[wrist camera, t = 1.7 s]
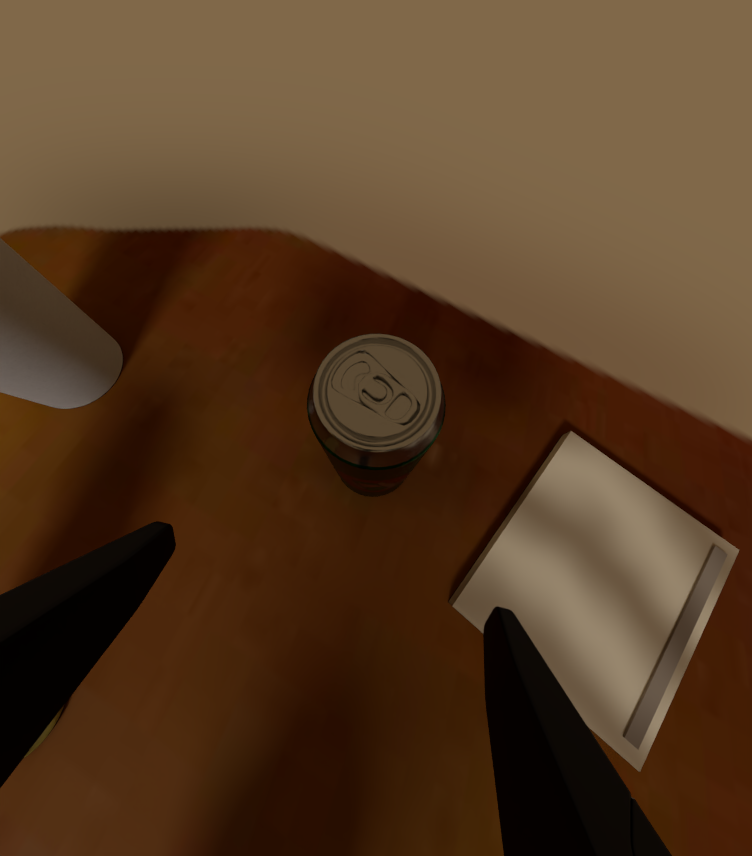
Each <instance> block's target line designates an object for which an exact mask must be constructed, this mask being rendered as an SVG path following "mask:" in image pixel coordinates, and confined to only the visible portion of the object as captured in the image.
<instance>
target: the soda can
mask: <svg viewBox="0 0 752 856" xmlns="http://www.w3.org/2000/svg"><path fill="white" fill-rule="evenodd" d="M445 406H446V404H445V395H444V391H443V388H442V384H441V382H440V380H439V376H438V373H437V371H436V369H435V367H434V365H433V364H432V362H431V361H430V359H429V358H428V357H427V356H426V355H425V354H424V352H423V351H421V350H420V349H419V348H418V347H416V346H415V345H413V344H412V343H410V342H408V341H406V340H404V339H402V338H399V337H396V336H392V335H386V334H367V335H361V336H357V337H354V338H351V339H349V340H347V341H345V342H343V343H341V344H340V345H338V346H337V347H335V348H334V349H333V350H332V351H331V352H330V353H329V354H328V355H327V356H326V357H325V359H324V360H323V361H322V363H321V365H320V366H319V368H318V370H317V373H316V374H315V376H314V378H313V380H312V383H311V385H310V388H309V393H308V398H307V411H308V418H309V422H310V425H311V428H312V430H313V432H314V434H315V436H316V438H317V440H318V441H319V443H320V445H321V446H322V448H323V450H324V451H325V453H326V455H327V456H328V458H329V460H330V461H331V463H332V465H333V466H334V468H335V470H336V471H337V473H338V475H339V476H340V478H341V480H342V481H343V482H344V484H345V485H346V486H347V487H348V488H349V489H351V490H352V491H354V492H356V493H358V494H360V495H364V496H369V497H378V496H383V495H386V494H388V493H390V492H392V491H394V490H395V489H397V488H398V487H399V486H400V485H401V484H402V483H403V481H404V480H405V479H406V478H407V476H408V475H409V474H410V472H411V471H412V470H413V469H414V467H415V466H416V465H417V463H418V462H419V461H420V459H421V458H422V457H423V456H424V454H425V453H426V452H427V450H428V449H429V448H430V447H431V445H432V444H433V442H434V441H435V439H436V438H437V436H438V435H439V432H440V430H441V427H442V425H443V421H444V417H445Z"/></svg>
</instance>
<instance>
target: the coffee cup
mask: <svg viewBox="0 0 752 856" xmlns="http://www.w3.org/2000/svg"><path fill="white" fill-rule="evenodd" d="M122 363H123V356H122V351H121V348H120V346H119V344H118V343H117V342H116V341H115V340H114V339H113V338H112V337H111V336H110V335H109V334H108V333H107V332H106V331H104V330H103V329H102V328H101V327H100V326H99V325H98V324H97V323H95V322H94V321H93V320H92V319H91V318H90V317H89V316H87V315H86V314H85V313H84V312H83V311H82V310H81V309H80V308H78V307H77V306H76V305H75V304H74V303H73V302H72V301H70V300H69V299H68V298H67V297H66V296H65V295H64V294H63V293H61V292H60V291H59V290H58V289H57V288H56V287H55V286H54V285H52V284H51V283H50V282H49V281H48V280H47V279H46V278H44V277H43V276H42V275H41V274H40V273H39V272H38V271H37V270H35V269H34V268H33V267H32V266H31V265H30V264H29V263H28V262H26V261H25V260H24V259H23V258H22V257H21V256H20V255H19V254H17V253H16V252H15V251H14V250H13V249H12V248H11V247H10V246H8V245H7V244H6V243H5V242H4V241H3V240H2V239H1V238H0V392H2V393H5V394H9V395H12V396H16V397H19V398H23V399H26V400H30V401H33V402H37V403H40V404H44V405H47V406H51V407H55V408H62V409H68V408H76V407H80V406H83V405H86V404H89V403H91V402H93V401H95V400H96V399H98V398H99V397H101V396H102V395H103V394H105V393H106V392H107V391H108V390H109V389H110V388H111V387H112V386H113V384H114V383H115V382H116V380H117V378H118V376H119V374H120V372H121V369H122Z"/></svg>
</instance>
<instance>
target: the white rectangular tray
mask: <svg viewBox="0 0 752 856" xmlns="http://www.w3.org/2000/svg"><path fill="white" fill-rule="evenodd" d="M738 552H739V550H738V549H737V548H735V547H734V546H732V545H731V544H730V543H728V542H727V541H725V540H724V539H723V538H721V537H720V536H718V535H717V534H716V533H714V532H713V531H711V530H710V529H709V528H707V527H706V526H704V525H703V524H701V523H700V522H699V521H697V520H696V519H694V518H693V517H692V516H690V515H689V514H687V513H686V512H685V511H683V510H682V509H680V508H679V507H678V506H676V505H675V504H673V503H672V502H670V501H669V500H668V499H666V498H665V497H663V496H662V495H661V494H659V493H658V492H656V491H655V490H654V489H652V488H651V487H649V486H648V485H647V484H645V483H644V482H642V481H641V480H640V479H638V478H637V477H635V476H634V475H632V474H631V473H630V472H628V471H627V470H625V469H624V468H623V467H621V466H620V465H618V464H617V463H616V462H614V461H613V460H611V459H610V458H609V457H607V456H606V455H604V454H603V453H601V452H600V451H599V450H597V449H596V448H594V447H593V446H592V445H590V444H589V443H587V442H586V441H585V440H583V439H582V438H580V437H579V436H578V435H576V434H575V433H573V432H572V431H570V432H568V433H566V434H563V435H562V437H561V438H560V439H559V441H558V442H557V444H556V445H555V447H554V448H553V450H552V451H551V453H550V454H549V456H548V457H547V458H546V460H545V461H544V463H543V464H542V466H541V467H540V469H539V470H538V472H537V473H536V475H535V476H534V477H533V479H532V480H531V482H530V483H529V485H528V486H527V488H526V489H525V491H524V492H523V494H522V495H521V496H520V498H519V499H518V501H517V502H516V504H515V505H514V507H513V508H512V510H511V511H510V513H509V514H508V515H507V517H506V518H505V520H504V521H503V523H502V524H501V526H500V527H499V529H498V530H497V532H496V533H495V534H494V536H493V537H492V539H491V540H490V542H489V543H488V545H487V546H486V548H485V549H484V551H483V552H482V553H481V555H480V556H479V558H478V559H477V561H476V562H475V564H474V565H473V567H472V568H471V570H470V571H469V572H468V574H467V575H466V577H465V578H464V580H463V581H462V583H461V584H460V586H459V587H458V589H457V590H456V591H455V593H454V594H453V596H452V597H451V599H450V600H449V603H450V604H451V605H452V606H453V607H454V608H455V609H456V610H457V611H458V612H460V613H461V614H462V615H463V616H464V617H465V618H466V619H467V620H469V621H470V622H471V623H472V624H473V625H474V626H475V627H477V628H478V629H479V630H480V631H481V632H482V633H483V630H484V625H485V622H486V620H487V619H488V617H489V615H490V614H491V612H492V610H493V609H494V607H496V606H499V607H503V608H507V609H510V610H511V611H513V613H514V614H515V615H516V617H517V618H518V620H519V622H520V623H521V625H522V626H523V628H524V629H525V631H526V632H527V634H528V635H529V637H530V638H531V640H532V642H533V643H534V645H535V646H536V648H537V649H538V651H539V652H540V654H541V655H542V657H543V659H544V660H545V662H546V663H547V665H548V666H549V668H550V669H551V671H552V672H553V674H554V676H555V677H556V679H557V680H558V682H559V683H560V685H561V686H562V688H563V689H564V691H565V693H566V694H567V696H568V697H569V699H570V700H571V702H572V703H573V705H574V706H575V708H576V710H577V711H578V713H579V714H580V716H581V717H582V719H583V720H584V722H585V723H586V725H587V726H588V727H589V728H590V729H591V730H593V731H594V732H595V733H596V734H597V735H598V736H599V737H601V738H602V739H603V740H604V741H605V742H606V743H607V744H608V745H610V746H611V747H612V748H613V749H614V750H615V751H616V752H617V753H619V754H620V755H621V756H622V757H623V758H624V759H625V760H626V761H628V762H629V763H630V764H631V765H632V766H633V767H634V768H635V769H637V770H638V771H639V772H640V770H641V768H642V766H643V764H644V762H645V759H646V757H647V755H648V753H649V750H650V748H651V746H652V744H653V741H654V739H655V737H656V735H657V733H658V730H659V728H660V726H661V724H662V721H663V719H664V717H665V715H666V712H667V710H668V708H669V706H670V704H671V701H672V699H673V697H674V695H675V692H676V690H677V688H678V686H679V684H680V681H681V679H682V677H683V675H684V672H685V670H686V668H687V666H688V663H689V661H690V659H691V657H692V655H693V652H694V650H695V648H696V646H697V643H698V641H699V639H700V637H701V634H702V632H703V630H704V628H705V626H706V623H707V621H708V619H709V617H710V614H711V612H712V610H713V608H714V606H715V603H716V601H717V599H718V597H719V594H720V592H721V590H722V588H723V585H724V583H725V581H726V579H727V577H728V574H729V572H730V570H731V568H732V565H733V563H734V561H735V559H736V556H737V554H738Z"/></svg>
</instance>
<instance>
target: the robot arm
mask: <svg viewBox="0 0 752 856" xmlns="http://www.w3.org/2000/svg"><path fill="white" fill-rule="evenodd" d="M175 546H176V543H175V537H174V532H173V527H172V526H171V525H170V524H167V523H163V522H158V521H157V522H153V523H151V524H148V525H146V526H144V527H142V528H140V529H138V530H136V531H134V532H132V533H130V534H127V535H125V536H123V537H121V538H119V539H117V540H115V541H113V542H111V543H108V544H106V545H104V546H102V547H100V548H98V549H96V550H94V551H92V552H90V553H87V554H85V555H83V556H81V557H79V558H77V559H75V560H73V561H71V562H69V563H66V564H64V565H62V566H60V567H58V568H56V569H54V570H52V571H50V572H47V573H45V574H43V575H41V576H39V577H37V578H35V579H33V580H31V581H29V582H26V583H24V584H22V585H20V586H18V587H16V588H14V589H12V590H10V591H8V592H5V593H3V594H1V595H0V788H1V787H2V785H3V784H4V783H5V781H6V780H7V779H8V777H9V776H10V775H11V773H12V772H13V771H14V770H15V768H16V767H17V766H18V764H19V763H20V762H21V760H22V759H23V758H24V756H25V755H26V754H27V753H28V751H29V750H30V749H31V747H32V746H33V745H34V743H35V742H36V741H37V740H38V738H39V737H40V736H41V734H42V733H43V732H44V730H45V729H46V728H47V726H48V725H49V724H50V723H51V721H52V720H53V719H54V717H55V716H56V715H57V713H58V712H59V711H60V709H61V708H62V707H63V706H64V704H65V703H66V702H67V700H68V699H69V698H70V696H71V695H72V694H73V693H74V691H75V690H76V689H77V687H78V686H79V685H80V683H81V682H82V681H83V679H84V678H85V677H86V676H87V674H88V673H89V672H90V670H91V669H92V668H93V666H94V665H95V664H96V663H97V661H98V660H99V659H100V657H101V656H102V655H103V653H104V652H105V651H106V649H107V648H108V647H109V646H110V644H111V643H112V642H113V640H114V639H115V638H116V636H117V635H118V634H119V632H120V631H121V630H122V629H123V627H124V626H125V625H126V623H127V622H128V621H129V619H130V618H131V617H132V615H133V614H134V613H135V611H136V610H137V609H138V607H139V606H140V604H141V603H142V601H143V600H144V598H145V597H146V595H147V594H148V592H149V590H150V589H151V587H152V586H153V584H154V583H155V581H156V579H157V578H158V576H159V575H160V573H161V572H162V570H163V568H164V567H165V565H166V564H167V562H168V560H169V559H170V557H171V556H172V554H173V552H174V550H175ZM483 637H484V675H485V700H486V711H487V719H488V727H489V735H490V744H491V752H492V760H493V768H494V777H495V785H496V793H497V801H498V810H499V818H500V826H501V834H502V842H503V851H504V856H672V855H671V854H670V852H669V851H668V849H667V848H666V846H665V845H664V843H663V842H662V840H661V839H660V837H659V836H658V834H657V833H656V831H655V830H654V828H653V827H652V825H651V824H650V822H649V820H648V819H647V817H646V816H645V814H644V813H643V811H642V810H641V808H640V807H639V805H638V803H637V802H636V800H635V799H634V798H632V797H631V794H630V791H629V790H628V788H627V787H626V785H625V784H624V782H623V781H622V779H621V777H620V776H619V774H618V773H617V771H616V770H615V768H614V767H613V765H612V764H611V762H610V761H609V759H608V757H607V756H606V754H605V753H604V751H603V750H602V748H601V747H600V745H599V744H598V742H597V740H596V739H595V737H594V736H593V734H592V733H591V731H590V730H589V728H588V727H587V725H586V723H585V722H584V720H583V719H582V717H581V716H580V714H579V713H578V711H577V710H576V708H575V706H574V705H573V703H572V702H571V700H570V699H569V697H568V696H567V694H566V693H565V691H564V689H563V688H562V686H561V685H560V683H559V682H558V680H557V679H556V677H555V676H554V674H553V672H552V671H551V669H550V668H549V666H548V665H547V663H546V662H545V660H544V659H543V657H542V655H541V654H540V652H539V651H538V649H537V648H536V646H535V645H534V643H533V642H532V640H531V638H530V637H529V635H528V634H527V632H526V631H525V629H524V628H523V626H522V625H521V623H520V622H519V620H518V618H517V617H516V615H515V614H514V613H513V611H511V610H510V609H507V608H503V607H499V606H496V607H494V609H493V610H492V612H491V614H490V615H489V617H488V619H487V620H486V622H485V625H484V630H483Z"/></svg>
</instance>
